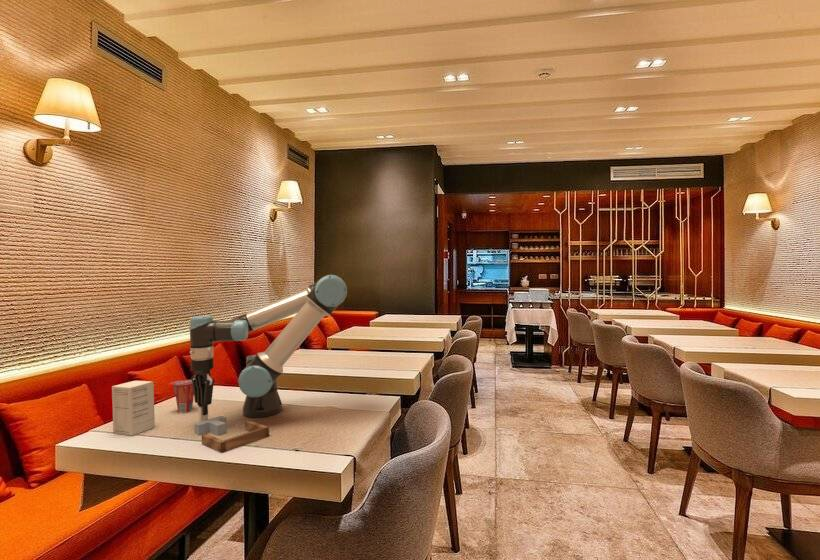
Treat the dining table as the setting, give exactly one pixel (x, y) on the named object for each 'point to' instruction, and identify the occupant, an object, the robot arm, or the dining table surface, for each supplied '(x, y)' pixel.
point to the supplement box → (133, 407)
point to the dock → (237, 437)
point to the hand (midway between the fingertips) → (203, 423)
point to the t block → (211, 426)
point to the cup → (184, 395)
